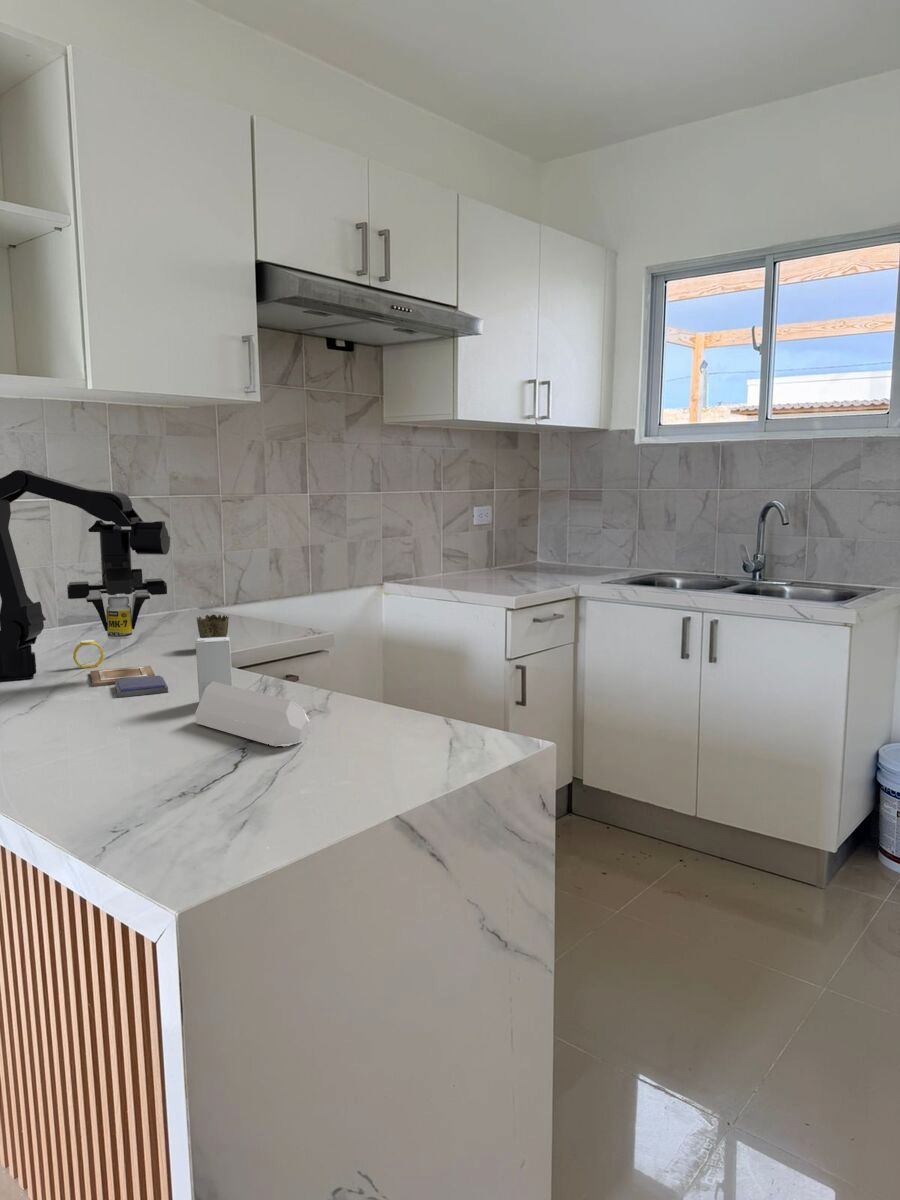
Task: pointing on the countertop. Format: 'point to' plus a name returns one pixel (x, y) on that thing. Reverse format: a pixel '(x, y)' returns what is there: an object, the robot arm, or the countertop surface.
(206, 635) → the cup
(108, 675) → the marked board
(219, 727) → the crystal
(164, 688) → the ink pad
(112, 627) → the supplement bottle
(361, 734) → the countertop surface
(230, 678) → the skincare box
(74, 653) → the watch
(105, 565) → the robot arm
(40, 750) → the countertop surface
